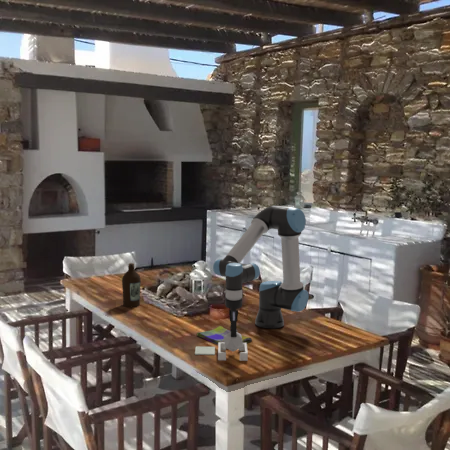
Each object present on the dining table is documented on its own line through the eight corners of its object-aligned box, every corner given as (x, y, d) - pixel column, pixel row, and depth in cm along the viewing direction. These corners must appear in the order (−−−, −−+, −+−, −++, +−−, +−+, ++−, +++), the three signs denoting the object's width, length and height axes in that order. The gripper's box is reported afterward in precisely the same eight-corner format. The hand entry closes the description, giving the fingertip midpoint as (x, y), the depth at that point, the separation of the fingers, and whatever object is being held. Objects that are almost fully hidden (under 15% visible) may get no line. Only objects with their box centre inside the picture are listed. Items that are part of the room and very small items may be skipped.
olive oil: (118, 305, 329) (118, 263, 326) (133, 302, 337) (133, 261, 333) (129, 309, 322) (128, 266, 318) (144, 306, 329) (144, 264, 326)
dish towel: (221, 329, 292) (221, 324, 292) (254, 342, 274) (254, 337, 273) (194, 336, 281) (194, 331, 280) (226, 350, 262) (226, 344, 262)
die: (244, 349, 256) (245, 328, 255) (239, 356, 248) (240, 334, 246) (226, 347, 259) (227, 326, 257) (221, 354, 250) (221, 332, 249)
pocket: (246, 350, 262) (246, 342, 261) (247, 360, 249) (247, 353, 249) (218, 349, 262) (218, 342, 261) (218, 360, 249) (218, 352, 248)
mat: (215, 348, 264) (215, 346, 264) (214, 355, 255) (214, 353, 255) (195, 347, 264) (195, 346, 264) (194, 354, 255) (194, 353, 255)
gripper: (225, 292, 260) (224, 341, 264) (225, 303, 243) (224, 355, 247) (241, 292, 260) (240, 341, 264) (242, 303, 243) (242, 355, 247)
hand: (233, 348), depth 255 cm, fingers closed on die, 4 cm apart
